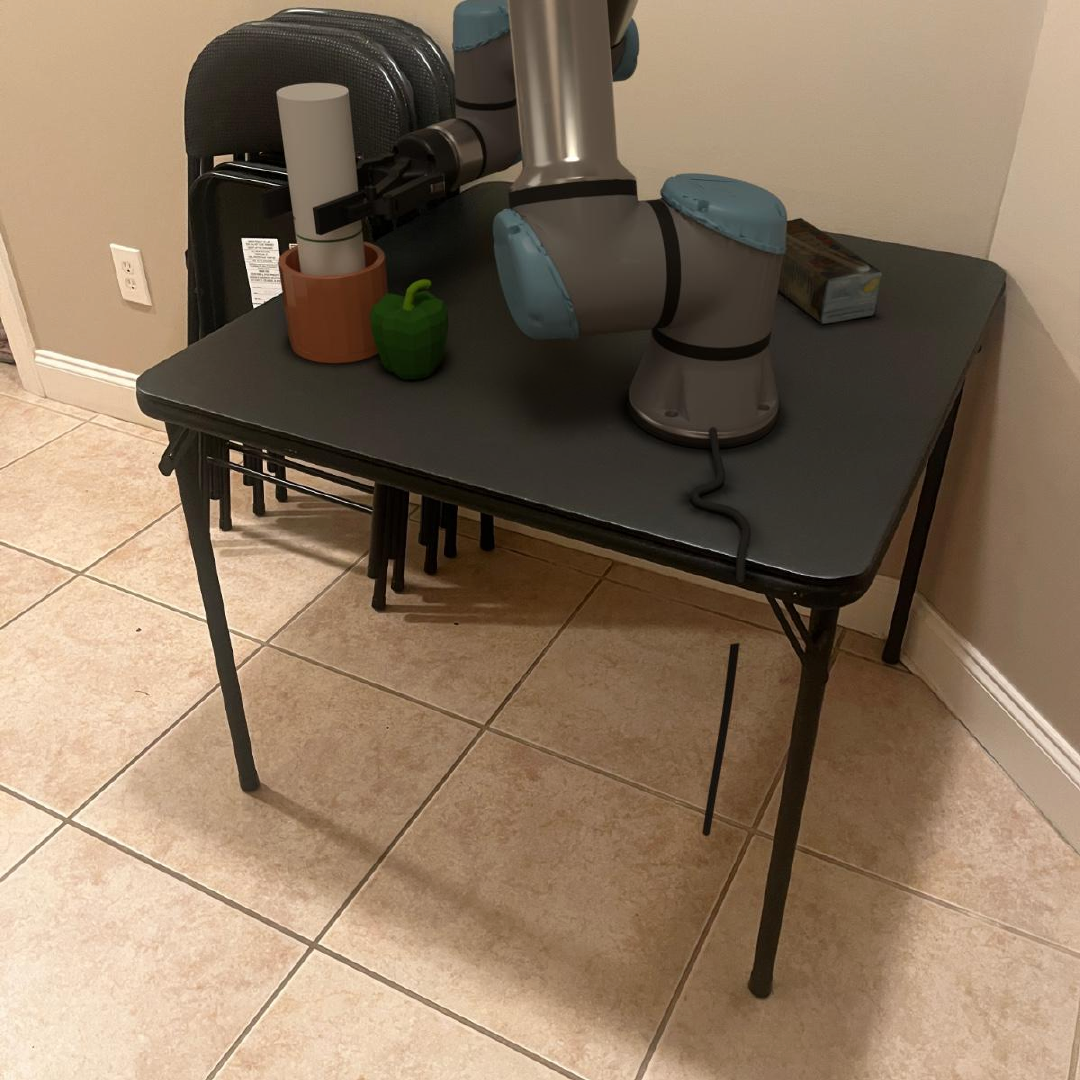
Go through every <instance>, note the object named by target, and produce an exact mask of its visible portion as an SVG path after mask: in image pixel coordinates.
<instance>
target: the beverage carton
mask: <svg viewBox="0 0 1080 1080" xmlns="http://www.w3.org/2000/svg"><path fill="white" fill-rule="evenodd" d="M882 273H883V272H882V271H881V270H879V269H878V268H877V267H875V266H874V265H873V264H871V263H869V262H867V261H866V260H865V259H864V258H862V257H861V256H859V255H858V254H856V253H855V252H854V251H852V250H850V249H849V248H848V247H846V246H844V245H843V244H842V243H840V242H838V241H837V240H835V239H834V238H833V237H831V236H830V235H828V234H826V233H825V232H824V231H822V230H821V229H819V228H818V227H817V226H815V225H813V224H812V223H810V222H809V221H807V220H805V219H803V218H802V217H799V218H795V219H791V220H789V219H788V220H787V230H786V252H785V254H784V255H783V261H782V267H781V274H780V280H779V286H778V292H780V293H781V294H782V295H784V296H785V297H786V298H787V299H789V300H790V301H791V302H792V303H794V304H795V305H797V307H799V308H800V309H802V310H803V311H804V312H805V313H807V314H808V315H809V316H811V317H812V318H814V319H815V320H816V321H817V322H818V323H820V324H821V325H826V324H832V323H839V322H845V321H850V320H854V319H859V318H866V317H871V316H874V315H875V311H876V305H877V303H878V296H879V289H880V284H881V280H882V276H883V274H882Z"/></svg>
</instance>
